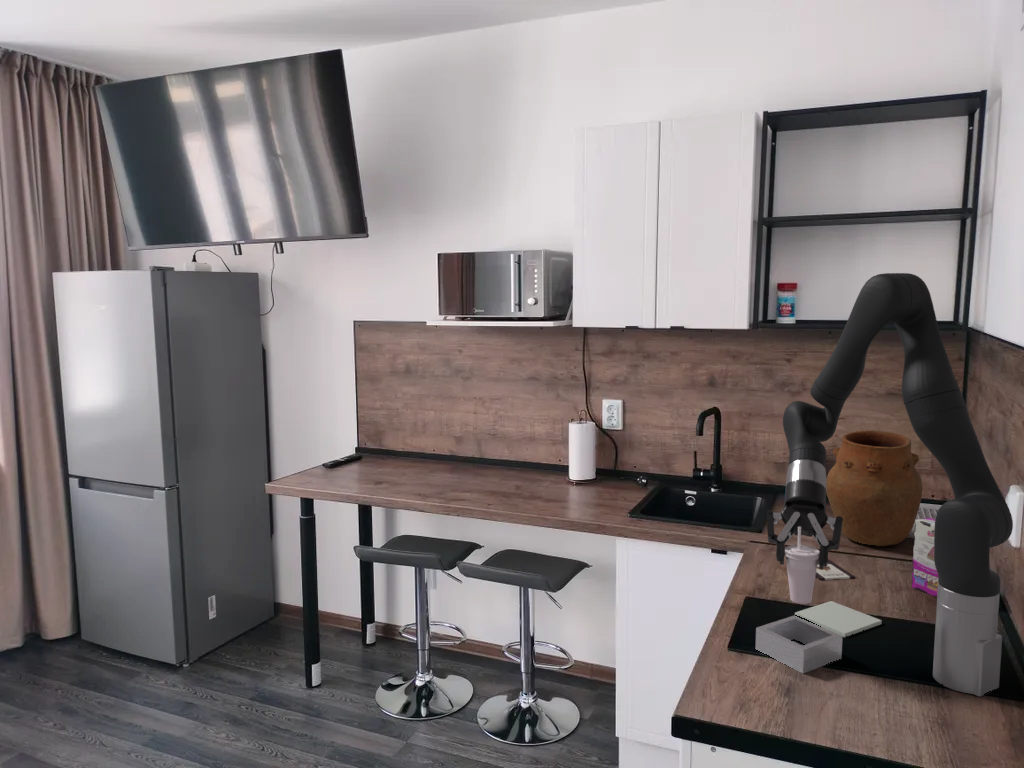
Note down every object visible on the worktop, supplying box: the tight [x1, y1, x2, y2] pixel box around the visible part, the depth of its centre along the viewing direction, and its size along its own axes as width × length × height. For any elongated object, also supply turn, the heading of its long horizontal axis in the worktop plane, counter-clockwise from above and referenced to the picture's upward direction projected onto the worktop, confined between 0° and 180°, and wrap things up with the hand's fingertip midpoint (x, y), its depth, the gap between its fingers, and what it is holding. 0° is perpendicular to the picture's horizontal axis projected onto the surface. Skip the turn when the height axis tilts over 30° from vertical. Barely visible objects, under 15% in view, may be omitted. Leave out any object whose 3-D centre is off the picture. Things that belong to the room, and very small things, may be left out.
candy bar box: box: [911, 517, 938, 598], centre depth 173 cm, size 11×5×16 cm, turn 21°
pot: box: [826, 430, 923, 547], centre depth 211 cm, size 24×24×30 cm
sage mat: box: [794, 600, 882, 638], centre depth 161 cm, size 12×12×1 cm
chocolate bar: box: [815, 558, 856, 581], centre depth 193 cm, size 9×1×18 cm
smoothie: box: [784, 527, 820, 605], centre depth 143 cm, size 6×6×14 cm
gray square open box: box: [755, 615, 843, 674], centre depth 145 cm, size 11×11×4 cm
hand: (801, 564), depth 142 cm, fingers closed on smoothie, 6 cm apart
